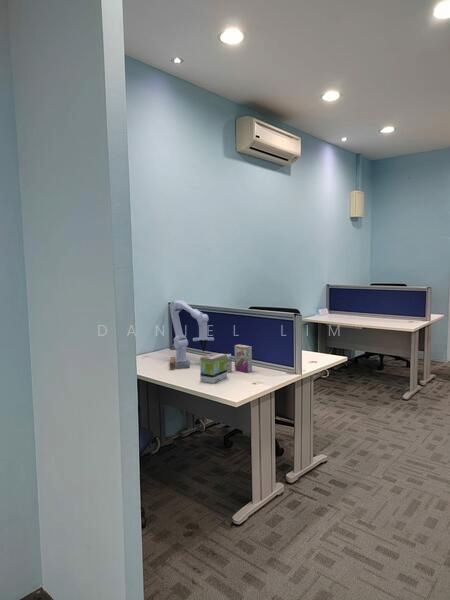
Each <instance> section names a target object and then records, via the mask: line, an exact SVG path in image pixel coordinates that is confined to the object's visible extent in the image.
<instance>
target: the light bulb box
mask: <svg viewBox="0 0 450 600" xmlns="http://www.w3.org/2000/svg"><path fill="white" fill-rule="evenodd" d="M226 354H227V373H231V372H232V370H233V367H232V364H233V363H232V354H231V353H226Z"/></svg>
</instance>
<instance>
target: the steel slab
mask: <svg viewBox="0 0 450 600" xmlns="http://www.w3.org/2000/svg"><path fill="white" fill-rule="evenodd" d="M190 366H191V364H190V360H187V361H180V362H176V361H175V365H174V368H175V369H174V370H178V369H179V370H185V369H187V370H188V369H190Z"/></svg>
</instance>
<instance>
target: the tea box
mask: <svg viewBox="0 0 450 600" xmlns="http://www.w3.org/2000/svg"><path fill="white" fill-rule="evenodd" d="M227 354H228V353H218V352H212V353H209V354H206V355H203V356H201V357H200V365H199V367H200V372H199V373H200V382H202V383H203V382H204V383H209V384H215V383H217V382H219V381H222V380H224V379H226V378H227V379H228V372H227Z"/></svg>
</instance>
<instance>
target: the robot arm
mask: <svg viewBox="0 0 450 600" xmlns="http://www.w3.org/2000/svg"><path fill="white" fill-rule="evenodd" d="M169 309H170V317H171V321H172V327H173V331H174V334H175V337H174V338H173V347H174V348H175V354H176V356H175V362H181V361H188V357H187V349H188V348H187V347H188V346H189V340H188V339H187V336H186V335H185V334H184V333H183V328H182V324H181V320H180V319H181V318H180V316H179V315H180V314H179V313H180V312H181V311H182V310H185V311H186V312H187V313H188V314H189V313H190V316H191V317H192V318H194V319H195V320H196V321H197V325H198V337H193V338H192V341H193V342H199V344H200V346H201V349H202V352H206V346H207V343H208V341H209V342H210V341H211V342H212V341H215V338H214V337H211V336H210V337H208V322H209V320H210V318H209V315H208V314H207V313H204V312H201V311H199V309H198V308H192V307H191V306H190V305H189V304H188V303H186V301H185V300H183V299H178V300H177V299H176V300H171V302H169Z"/></svg>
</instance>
